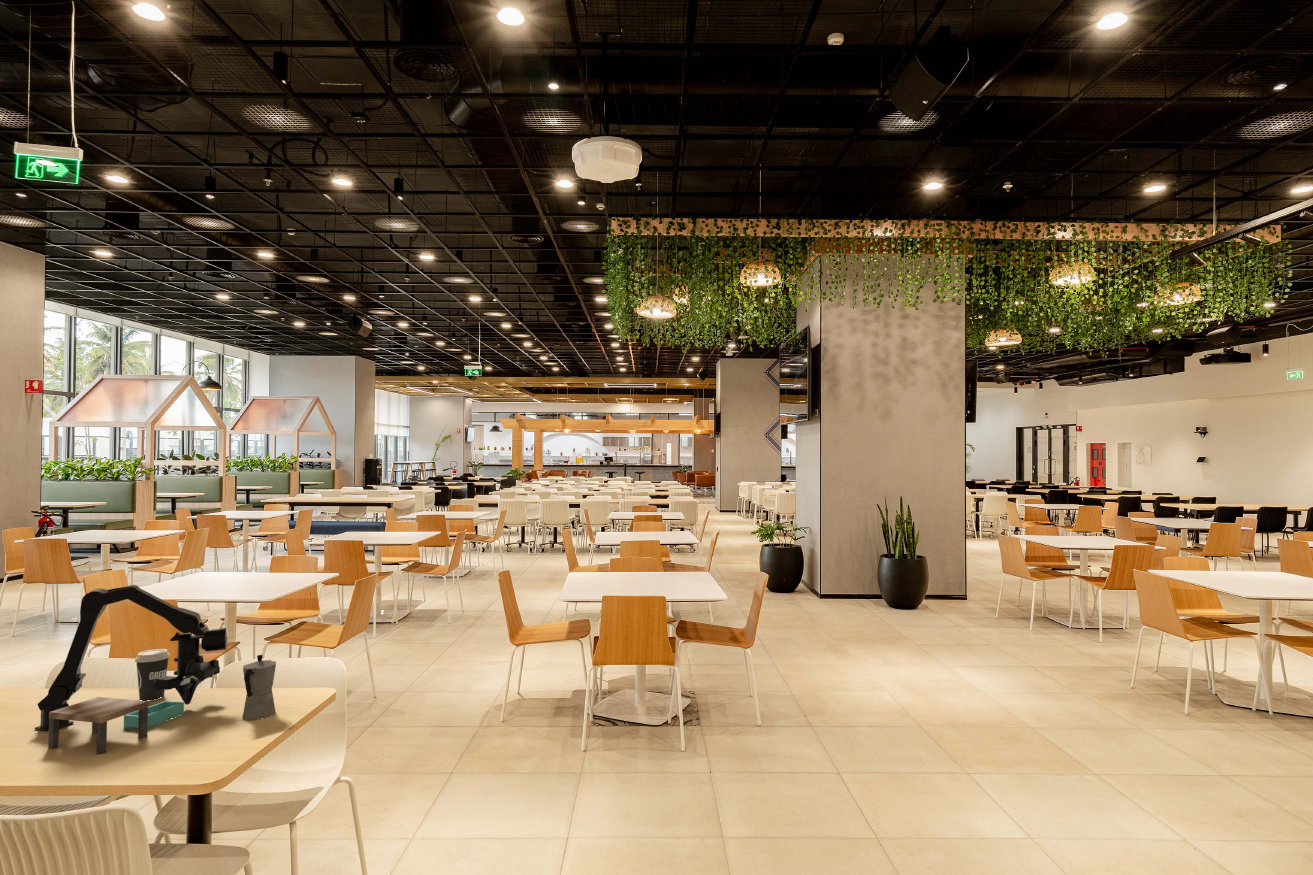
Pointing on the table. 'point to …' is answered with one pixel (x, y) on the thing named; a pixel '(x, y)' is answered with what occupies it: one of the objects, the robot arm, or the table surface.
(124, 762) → the table surface
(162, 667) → the coffee cup
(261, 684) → the coffeepot
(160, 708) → the tray
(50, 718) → the wooden step stool
